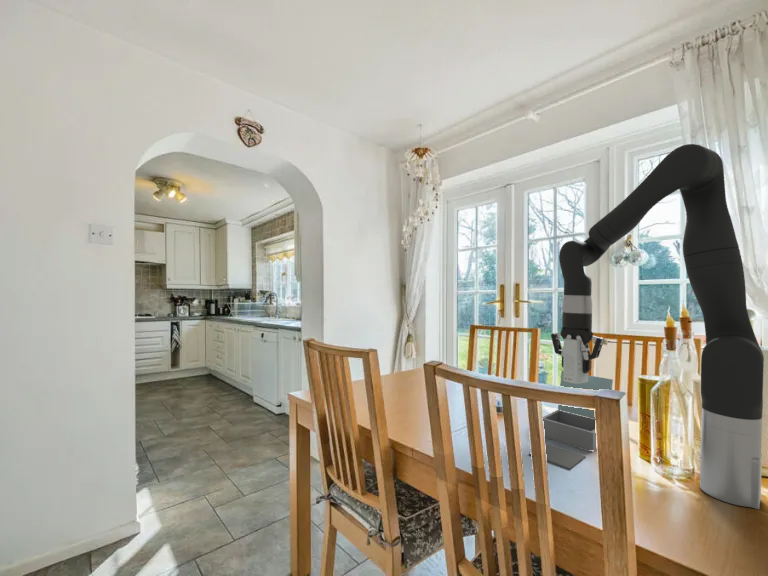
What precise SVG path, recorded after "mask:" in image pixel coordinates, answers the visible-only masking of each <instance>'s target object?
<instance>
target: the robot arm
mask: <svg viewBox="0 0 768 576" xmlns="http://www.w3.org/2000/svg"><path fill="white" fill-rule="evenodd" d="M678 190H679V192H680V194H681V197H682V201H683V205H684V208H685V216H686V219H685V221H686V222H685V225H684V226H685V227H684V228H685V229H684V232H683V233H684V234H683V239H682V255H683V261H684V265H685V269H686V273H687V277H688V281H689V284H690V286H691V289H692V292H693V293H694V296H695V299H696V301H697V303H698V305H699V308H700V310H701V313H702V317H703V322H704V324H703V325H704V330H705V331H704V332H705V346H704V347H703V349H702V352H701V357H700V358H701V359H700V397H701V423H700V455H699V456H700V459H699V462H700V463H699V464H700V465H699V488H700V490H702V491H703V492H704V493H705V494H707V495H709V496H710V497H712V498H715V499H717V500H719V501H722V502H725V503H728V504H731V505H736V506H740V507H741V506H742V507H746V508H748V507H749V508H753V509H755V510H760V508H761V498H762V466H763V465H762V463H763V462H762V461H763V459H762V458H763V454H762V453H763V452H762V440H763V439H762V435H763V433H762V432H763V430H762V429H763V428H762V427H763V407H764V406H763V405H764V399H763V398H764V396H763V394H764V392H763V391H764V365H765V364H764V362H765V358H764V357H765V356H764V353H763V350H762V349H761V347H760V345H759V343H758V340H757V337H756V334H755V332H754V329H753V326H752V324H751V320H750V317H749V313H748V308H747V292H746V288H747V287H746V280H745V279H746V278H745V270H744V264H743V260H742V254H741V249H740V247H739V243H738V240H737V235H736V232H735V228H734V224H733V221H732V217H731V213H730V211H729V208H728V204H727V203H728V202H727V195H726V186H725V170H724V163H723V159H722V158H721V156H720V154H718V153H717V152H716V151H715V150H713V149H710V148H708V147H705V146H704V145H700V144H696V143H689V144H683V145H681V146H678V147H676V148H674V149H673V150H671V152H669V153H668V154H667V155H665V157H664V158H663V159H661V161H660V162H659V163H658V165H656V166H655V167H654V169H653V170H652V171H651V172H650V173H649V174H648V175H647V176H646V178H645V179H643V180H642V182H641V183H639V184H638V185H637V187H636V188H635V189H633V191H632V192H631V193H630V194H628V196H626V198H625V199H623V200H622V201H621V202H620V203H618V205H616V207H614V208H613V209H612V210H611V211H610V212H608V213H606V215H605V216H603V217H602V218H601V219H599V220H598V221H597V222H596V223H595V224H593V225H592V226H591V227H590V228H589V230H588V238H586V239H585V240H584V241H580V240H569V241H566V242H565V243H563V244H562V246H561V248H560V250H559V255H558V261H559V267H560V270H561V274H562V275H561V276H562V278H563V281H564V282H563V300H562V307H561V311H562V316H561V322H562V323H561V327H562V329H561V331H560V332H553V333H551V334H550V337H551V341H552V345H553V346H552V347H553V349H554V352H555V354H556V355H560V356H561V368H562V369H563V358H564V345H563V346H562V344H561V339H562V340H564V339H576V340H579V341H580V350H581V352H582V354H583V357H584V359H585V360H583V373H588V374H589V372H591V370H592V360H595V359H598V358H599V357H600V355H601V351H602V347H603V344H604V342H605V339H604V337H599V336H595V335H594V333H593V331H592V329H593V326H592V325H593V299H592V289H593V288H592V283H593V282H592V278H591V277H590V276H589V275H587V274H586V272H585V268H584V267H589V266H591V265H593V264H594V263H596V262H597V261H598V260H599V259H601V258H602V256H603V255H604V254H605V253H606V252H607V251H608V249H609V248H610V247H611V246H612V245H614V244H615V243H617V242H618V241H620V240H621V239H623V238H624V237H625V236H626V235H628V234H629V233H631V231H633V229H635V228H636V227H637V226H638V225H639V224H640V223H641V221H642V220H643V218H644V217H645V216H646V215H647V214H648V213H649V212H650V210H651V209H653V208H654V207H655V206H656V205H657V204H659V202H661V201H663V199H666V197H668V196H669V195H671V194H673V193H675V192H676V191H678ZM591 341H592V344H593V348H592V352H591V348H590V345H589V343H590V342H591ZM585 346H586V348H585ZM582 347H583V348H582Z"/></svg>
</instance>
